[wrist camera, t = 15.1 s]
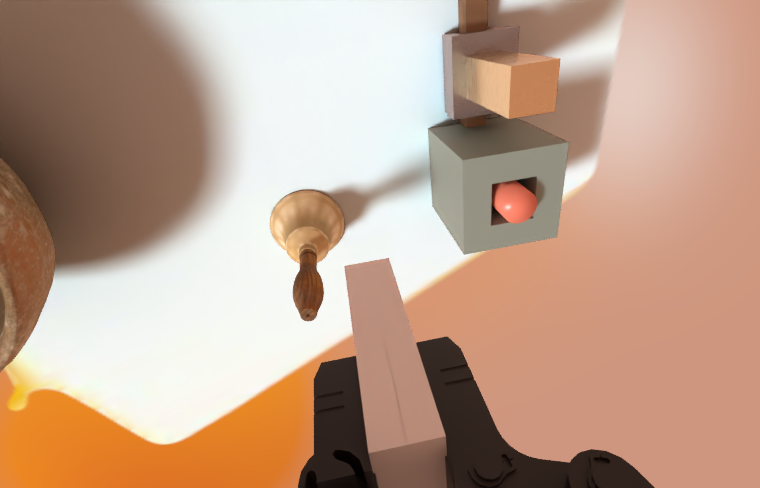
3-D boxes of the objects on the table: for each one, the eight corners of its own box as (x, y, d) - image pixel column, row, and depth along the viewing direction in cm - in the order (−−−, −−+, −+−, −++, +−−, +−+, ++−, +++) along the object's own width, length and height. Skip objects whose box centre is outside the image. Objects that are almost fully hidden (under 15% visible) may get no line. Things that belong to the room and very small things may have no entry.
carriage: (439, 35, 36) (493, 39, 25) (501, 26, 37) (581, 26, 26) (442, 112, 40) (491, 145, 29) (498, 103, 40) (568, 132, 29)
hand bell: (346, 191, 43) (361, 269, 29) (342, 255, 47) (354, 352, 33) (268, 188, 41) (246, 269, 28) (271, 255, 45) (252, 355, 32)
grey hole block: (428, 128, 41) (462, 160, 31) (514, 114, 41) (573, 141, 32) (432, 206, 45) (464, 254, 36) (510, 192, 46) (561, 236, 36)
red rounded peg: (469, 163, 39) (503, 194, 32) (498, 159, 39) (538, 187, 32) (470, 191, 40) (502, 226, 33) (497, 186, 41) (535, 220, 34)
